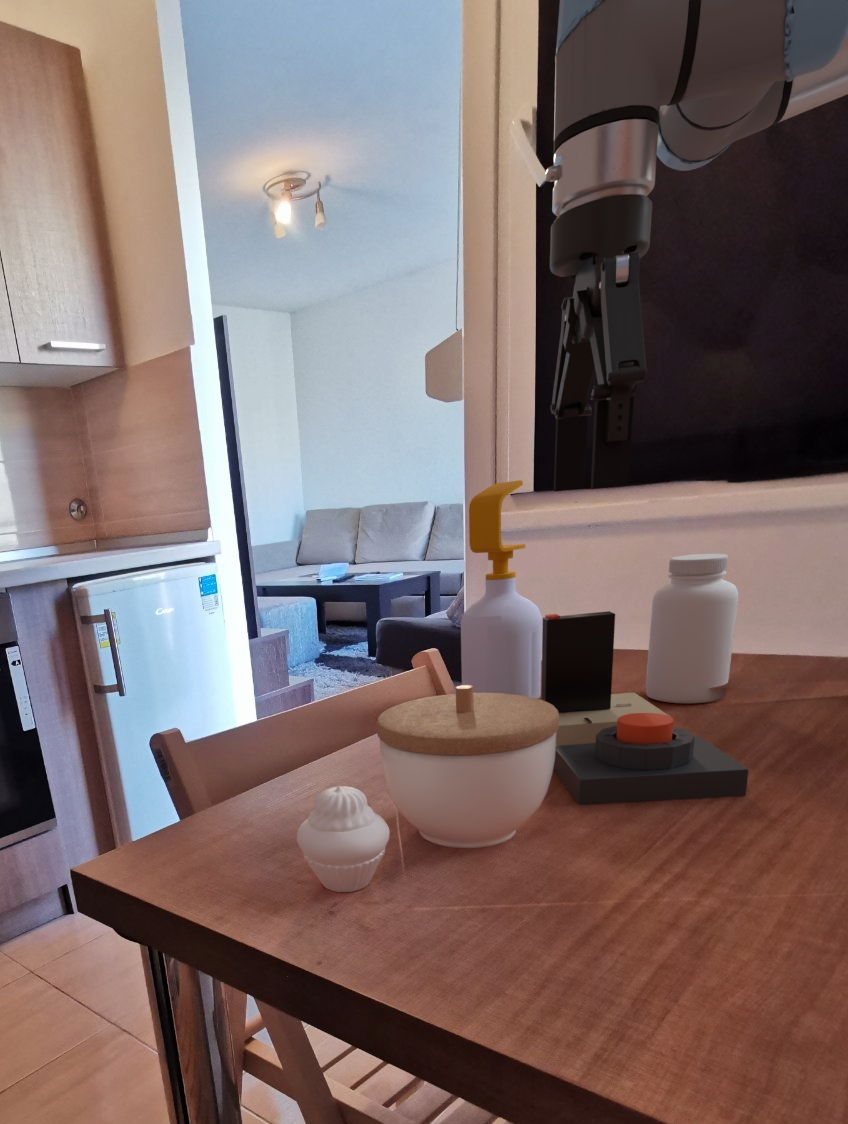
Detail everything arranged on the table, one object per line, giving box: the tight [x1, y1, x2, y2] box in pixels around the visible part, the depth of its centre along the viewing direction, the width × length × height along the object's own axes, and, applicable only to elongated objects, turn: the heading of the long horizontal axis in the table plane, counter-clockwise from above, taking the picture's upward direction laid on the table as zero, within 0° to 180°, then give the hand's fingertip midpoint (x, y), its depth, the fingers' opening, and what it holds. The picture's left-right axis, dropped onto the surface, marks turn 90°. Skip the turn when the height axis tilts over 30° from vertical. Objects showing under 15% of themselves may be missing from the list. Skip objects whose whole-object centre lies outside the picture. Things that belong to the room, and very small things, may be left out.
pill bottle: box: [645, 553, 739, 705], centre depth 82 cm, size 8×8×15 cm
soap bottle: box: [460, 479, 543, 699], centre depth 88 cm, size 9×9×25 cm
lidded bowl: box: [376, 684, 559, 849], centre depth 56 cm, size 13×13×11 cm
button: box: [616, 713, 675, 744], centre depth 61 cm, size 4×4×2 cm
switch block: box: [553, 726, 750, 806], centre depth 62 cm, size 12×9×4 cm
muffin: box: [296, 785, 391, 893], centre depth 51 cm, size 6×6×7 cm
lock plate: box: [556, 692, 670, 746], centre depth 75 cm, size 14×10×3 cm
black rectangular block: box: [540, 610, 616, 713], centre depth 72 cm, size 6×2×9 cm, turn 82°
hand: (587, 489), depth 69 cm, fingers open, 13 cm apart
